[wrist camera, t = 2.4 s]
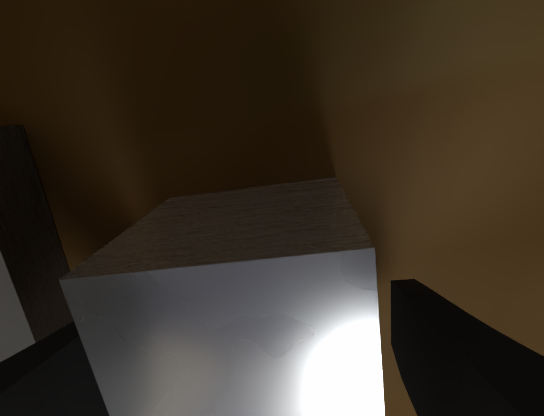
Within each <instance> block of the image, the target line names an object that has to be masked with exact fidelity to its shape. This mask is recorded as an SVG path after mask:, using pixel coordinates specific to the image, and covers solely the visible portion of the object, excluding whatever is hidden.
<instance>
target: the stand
mask: <svg viewBox="0 0 544 416" xmlns="http://www.w3.org/2000/svg"><path fill="white" fill-rule="evenodd" d="M67 273H69V268H68V265H67V262H66V259H65V256H64V253H63V250H62V247H61V244H60V241H59V238H58V234H57V231H56V228H55V225H54V222H53V219H52V216H51V213H50V210H49V207H48V204H47V201H46V197H45V194H44V191H43V188H42V185H41V182H40V179H39V176H38V173H37V170H36V167H35V163H34V160H33V157H32V154H31V151H30V148H29V145H28V142H27V139H26V136H25V133H24V129H23V126H22V125H12V126H0V362H1V361H3V360H5V359H7V358H9V357H11V356H12V355H14V354H16V353H18V352H20V351H21V350H23V349H25V348H27V347H29V346H31V345H32V344H34V343H36V342H38V341H40V340H41V339H43V338H45V337H47V336H48V335H50V334H52V333H53V332H55V331H57V330H59V329H60V328H62V327H64V326H66V325H67V324H69V323H71V322H72V321H74V320H73V317H72V314H71V312H70V309H69V306H68V304H67V301H66V298H65V296H64V293H63V290H62V288H61V285H60V282H59V279H61V278H62V277H63V276H65V275H66V274H67Z"/></svg>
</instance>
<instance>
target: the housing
mask: <svg viewBox="0 0 544 416" xmlns="http://www.w3.org/2000/svg"><path fill="white" fill-rule="evenodd" d="M59 282H60V285H61V288H62V290H63V293H64V296H65V298H66V301H67V304H68V306H69V309H70V312H71V314H72V317H73V320H74V322H75V325H76V328H77V330H78V333H79V336H80V338H81V341H82V344H83V346H84V349H85V352H86V354H87V357H88V360H89V362H90V365H91V368H92V370H93V373H94V376H95V378H96V381H97V384H98V387H99V389H100V392H101V395H102V397H103V400H104V403H105V405H106V408H107V411H108V413H109V416H385V413H384V396H383V378H382V361H381V344H380V327H379V310H378V293H377V275H376V258H375V247H374V245H373V244H372V242H371V240H370V238H369V236H368V234H367V233H366V231H365V229H364V227H363V225H362V224H361V222H360V220H359V218H358V216H357V214H356V213H355V211H354V209H353V207H352V205H351V204H350V202H349V200H348V198H347V196H346V194H345V193H344V191H343V189H342V187H341V185H340V184H339V182H338V180H337V178H336V177H332V178H324V179H316V180H308V181H300V182H292V183H284V184H276V185H268V186H260V187H252V188H244V189H236V190H228V191H221V192H213V193H205V194H197V195H189V196H181V197H173V198H169V199H167V200H166V201H165V202H163V203H162V204H160V205H159V206H158V207H156V208H155V209H154V210H152V211H151V212H150V213H148V214H147V215H146V216H144V217H143V218H142V219H140V220H139V221H138V222H136V223H135V224H133V225H132V226H131V227H129V228H128V229H127V230H125V231H124V232H123V233H121V234H120V235H119V236H117V237H116V238H115V239H113V240H112V241H111V242H109V243H108V244H106V245H105V246H104V247H102V248H101V249H100V250H98V251H97V252H96V253H94V254H93V255H92V256H90V257H89V258H88V259H86V260H85V261H84V262H82V263H81V264H79V265H78V266H77V267H75V268H74V269H73V270H71V271H70V272H69V273H67V274H66V275H65V276H63V277H62V278H61V279H59Z"/></svg>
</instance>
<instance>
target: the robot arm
mask: <svg viewBox="0 0 544 416" xmlns="http://www.w3.org/2000/svg"><path fill="white" fill-rule="evenodd" d="M391 345H392V348H393V351H394V355H395V358H396V362H397V365H398V368H399V371H400V374H401V378H402V381H403V383H404V385H405V388H406V390H407V392H408V395H409V397H410V399H411V402H412V404H413V406H414V409H415V411H416V413H417V416H544V356H542V355H540V354H538V353H536V352H534V351H533V350H531V349H529V348H527V347H525V346H523V345H522V344H520V343H518V342H516V341H514V340H513V339H511V338H509V337H507V336H506V335H504V334H502V333H500V332H498V331H497V330H495V329H493V328H492V327H490V326H488V325H487V324H485V323H483V322H482V321H480V320H478V319H477V318H475V317H473V316H472V315H470V314H469V313H467V312H465V311H464V310H462V309H461V308H459V307H458V306H456V305H454V304H453V303H451V302H450V301H448V300H447V299H445V298H444V297H442V296H441V295H439V294H437V293H436V292H434V291H433V290H431V289H430V288H428V287H427V286H425V285H424V284H422V283H420V282H419V281H417V280H415V279H408V280H392V281H391ZM0 416H109V413H108V411H107V408H106V405H105V403H104V400H103V397H102V395H101V392H100V389H99V387H98V384H97V381H96V378H95V376H94V373H93V370H92V368H91V365H90V362H89V360H88V357H87V354H86V352H85V349H84V346H83V344H82V341H81V338H80V336H79V333H78V330H77V328H76V325H75V322H74V321H72V322H71V323H69V324H67V325H66V326H64V327H62V328H60V329H59V330H57V331H55V332H53V333H52V334H50V335H48V336H47V337H45V338H43V339H41V340H40V341H38V342H36V343H34V344H32V345H31V346H29V347H27V348H25V349H23V350H21V351H20V352H18V353H16V354H14V355H12V356H11V357H9V358H7V359H5V360H3V361H1V362H0Z"/></svg>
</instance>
